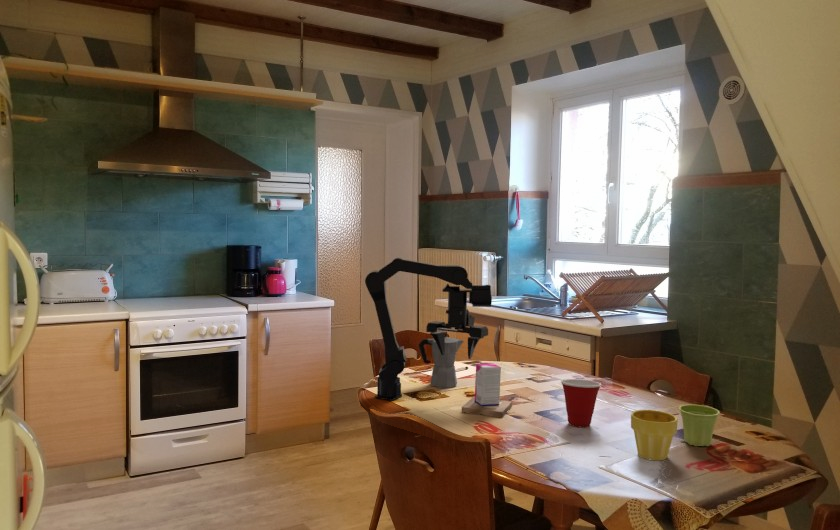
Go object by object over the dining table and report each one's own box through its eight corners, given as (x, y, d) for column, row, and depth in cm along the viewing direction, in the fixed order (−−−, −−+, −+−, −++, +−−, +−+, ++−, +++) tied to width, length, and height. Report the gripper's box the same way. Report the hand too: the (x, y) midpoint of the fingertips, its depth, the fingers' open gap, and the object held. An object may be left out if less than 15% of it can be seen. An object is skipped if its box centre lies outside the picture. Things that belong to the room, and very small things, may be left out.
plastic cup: (601, 421, 186) (602, 378, 185) (598, 432, 176) (600, 387, 175) (561, 416, 190) (563, 374, 189) (556, 427, 179) (558, 383, 179)
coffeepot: (458, 380, 229) (460, 328, 228) (466, 387, 220) (468, 333, 219) (414, 382, 226) (416, 329, 225) (421, 389, 217) (422, 334, 216)
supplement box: (500, 405, 193) (501, 366, 193) (481, 407, 192) (482, 367, 191) (492, 400, 199) (493, 362, 198) (473, 401, 197) (474, 363, 196)
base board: (461, 412, 192) (461, 406, 192) (473, 401, 203) (473, 396, 203) (502, 417, 188) (502, 411, 187) (512, 406, 199) (512, 401, 199)
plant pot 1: (650, 466, 152) (652, 424, 152) (620, 451, 162) (622, 411, 161) (685, 460, 156) (687, 419, 156) (653, 446, 166) (655, 407, 165)
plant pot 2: (714, 452, 162) (716, 417, 162) (674, 444, 167) (675, 410, 167) (720, 441, 170) (722, 408, 170) (681, 434, 175) (683, 402, 175)
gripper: (496, 306, 206) (494, 356, 207) (442, 301, 216) (441, 349, 217) (480, 310, 197) (479, 362, 198) (425, 305, 206) (424, 355, 207)
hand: (456, 357), depth 205 cm, fingers open, 9 cm apart
